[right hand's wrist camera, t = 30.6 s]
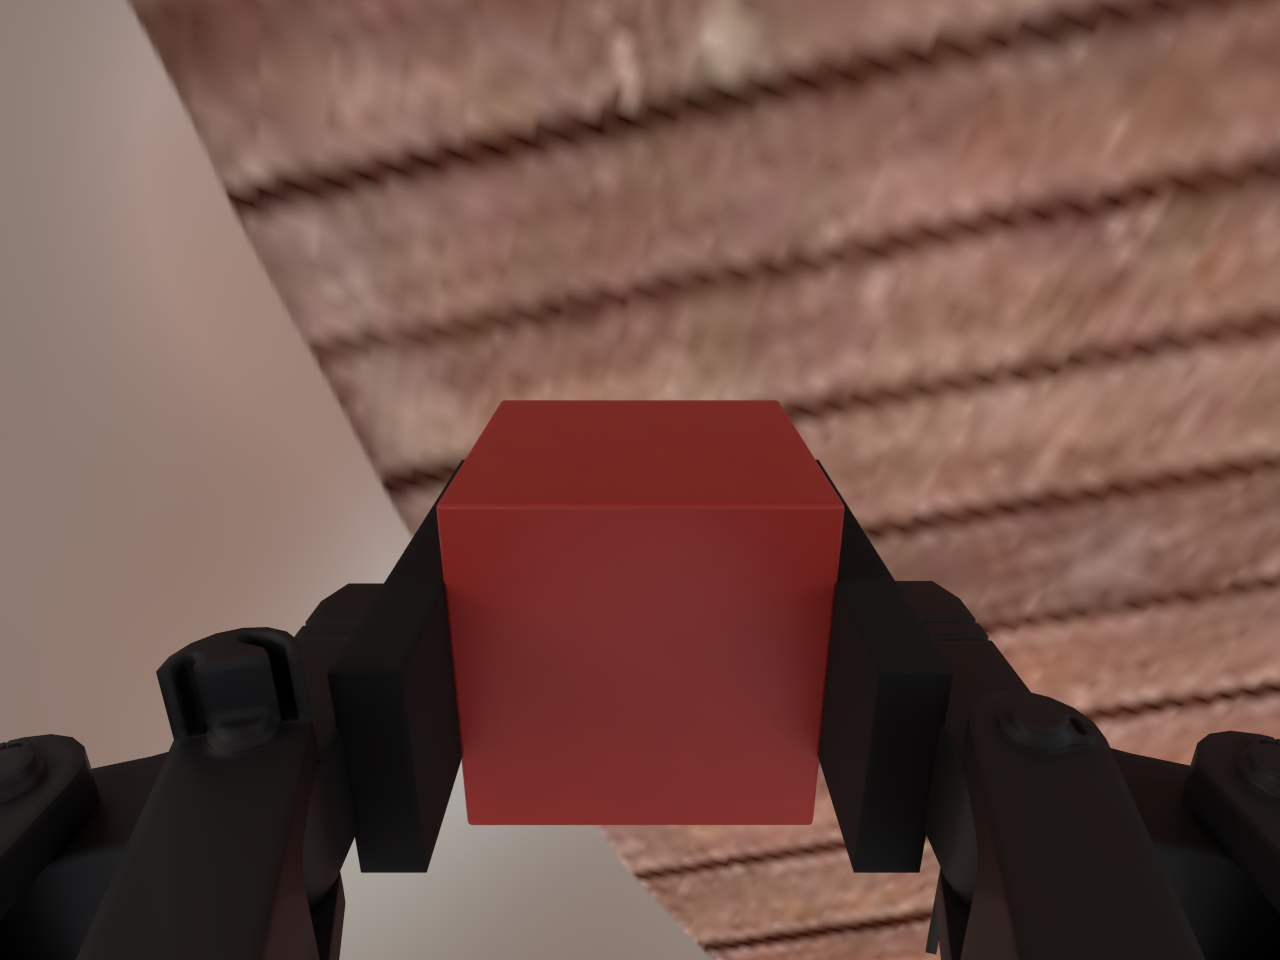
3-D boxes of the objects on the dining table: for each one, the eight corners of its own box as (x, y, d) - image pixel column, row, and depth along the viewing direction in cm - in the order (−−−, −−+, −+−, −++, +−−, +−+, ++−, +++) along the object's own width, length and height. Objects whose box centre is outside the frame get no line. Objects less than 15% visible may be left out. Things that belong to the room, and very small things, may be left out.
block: (501, 400, 14) (434, 504, 9) (778, 399, 14) (846, 505, 9) (516, 640, 16) (466, 827, 11) (763, 640, 16) (813, 827, 11)
